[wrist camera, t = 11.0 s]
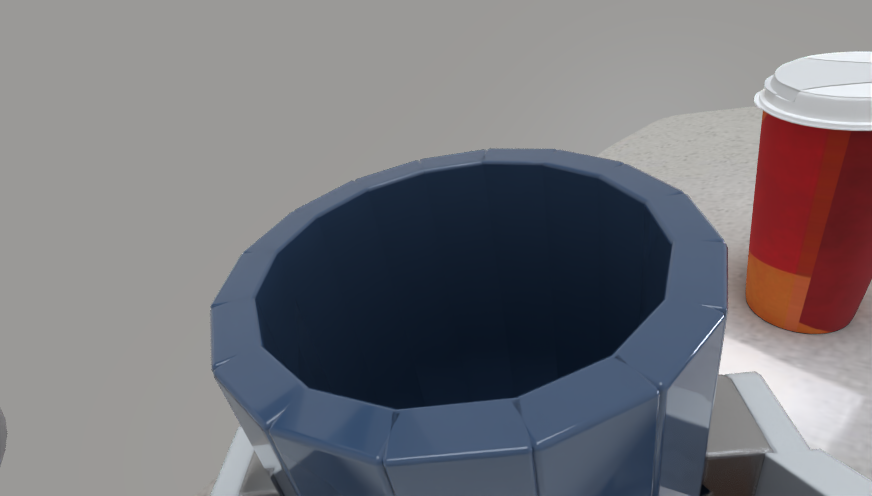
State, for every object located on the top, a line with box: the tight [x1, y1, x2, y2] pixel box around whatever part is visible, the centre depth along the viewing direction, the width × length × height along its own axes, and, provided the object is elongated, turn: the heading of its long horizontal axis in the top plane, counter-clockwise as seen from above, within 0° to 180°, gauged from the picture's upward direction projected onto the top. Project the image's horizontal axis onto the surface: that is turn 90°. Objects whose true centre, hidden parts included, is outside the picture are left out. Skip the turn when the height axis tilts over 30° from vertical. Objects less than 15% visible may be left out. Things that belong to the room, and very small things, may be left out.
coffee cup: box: [746, 52, 872, 334], centre depth 31 cm, size 8×8×15 cm
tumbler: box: [210, 149, 728, 496], centre depth 10 cm, size 6×6×10 cm
